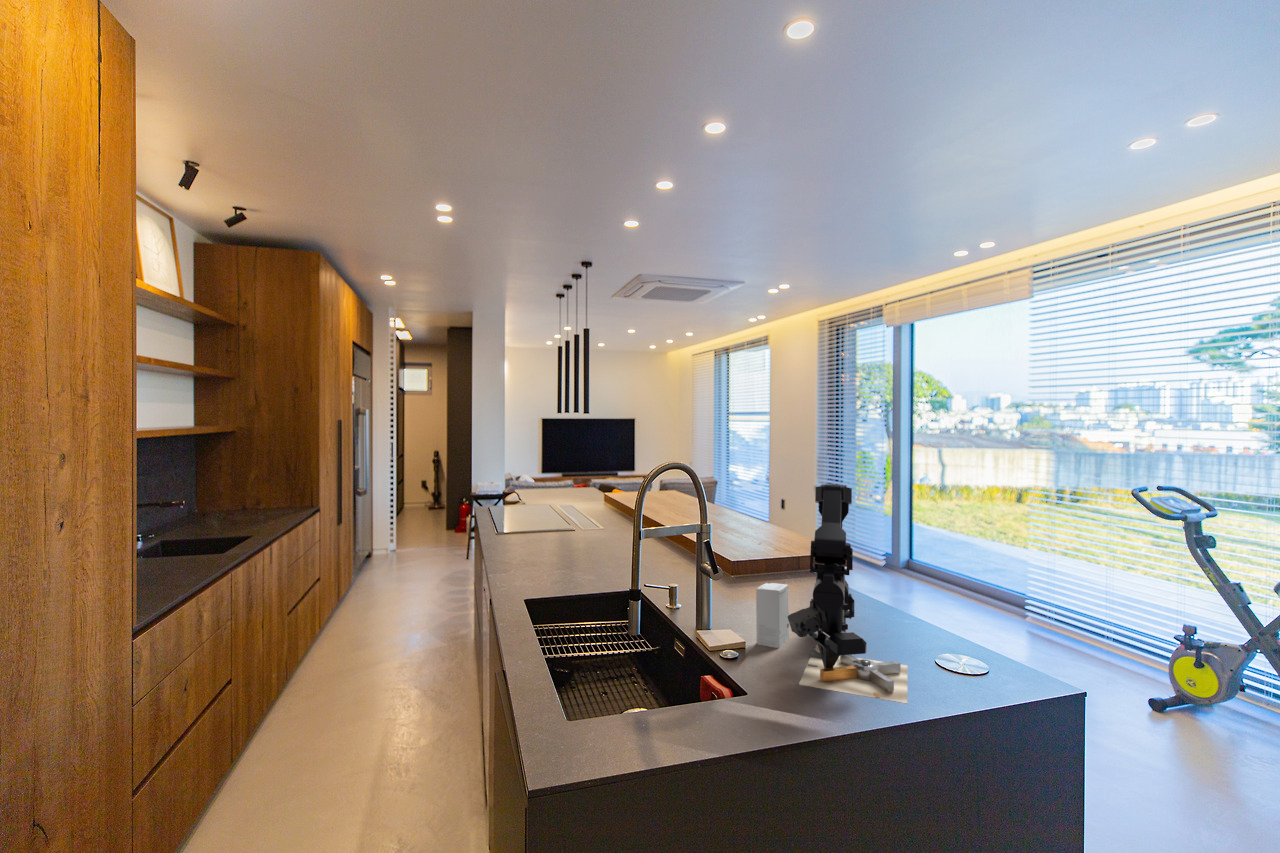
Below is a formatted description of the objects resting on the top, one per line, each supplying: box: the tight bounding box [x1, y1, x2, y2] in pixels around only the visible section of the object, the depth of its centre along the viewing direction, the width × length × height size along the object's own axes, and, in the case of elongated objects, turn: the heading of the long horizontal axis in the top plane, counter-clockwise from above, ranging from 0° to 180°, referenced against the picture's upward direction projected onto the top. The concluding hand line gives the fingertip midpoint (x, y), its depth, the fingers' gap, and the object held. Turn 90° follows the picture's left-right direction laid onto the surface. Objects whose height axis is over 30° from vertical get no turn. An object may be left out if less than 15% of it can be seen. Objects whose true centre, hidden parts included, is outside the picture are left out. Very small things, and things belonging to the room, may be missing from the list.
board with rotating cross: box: [798, 643, 909, 704], centre depth 125 cm, size 20×20×4 cm
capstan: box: [820, 654, 902, 692], centre depth 124 cm, size 16×18×3 cm
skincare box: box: [755, 582, 790, 649], centre depth 146 cm, size 8×6×15 cm
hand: (827, 671), depth 124 cm, fingers closed
